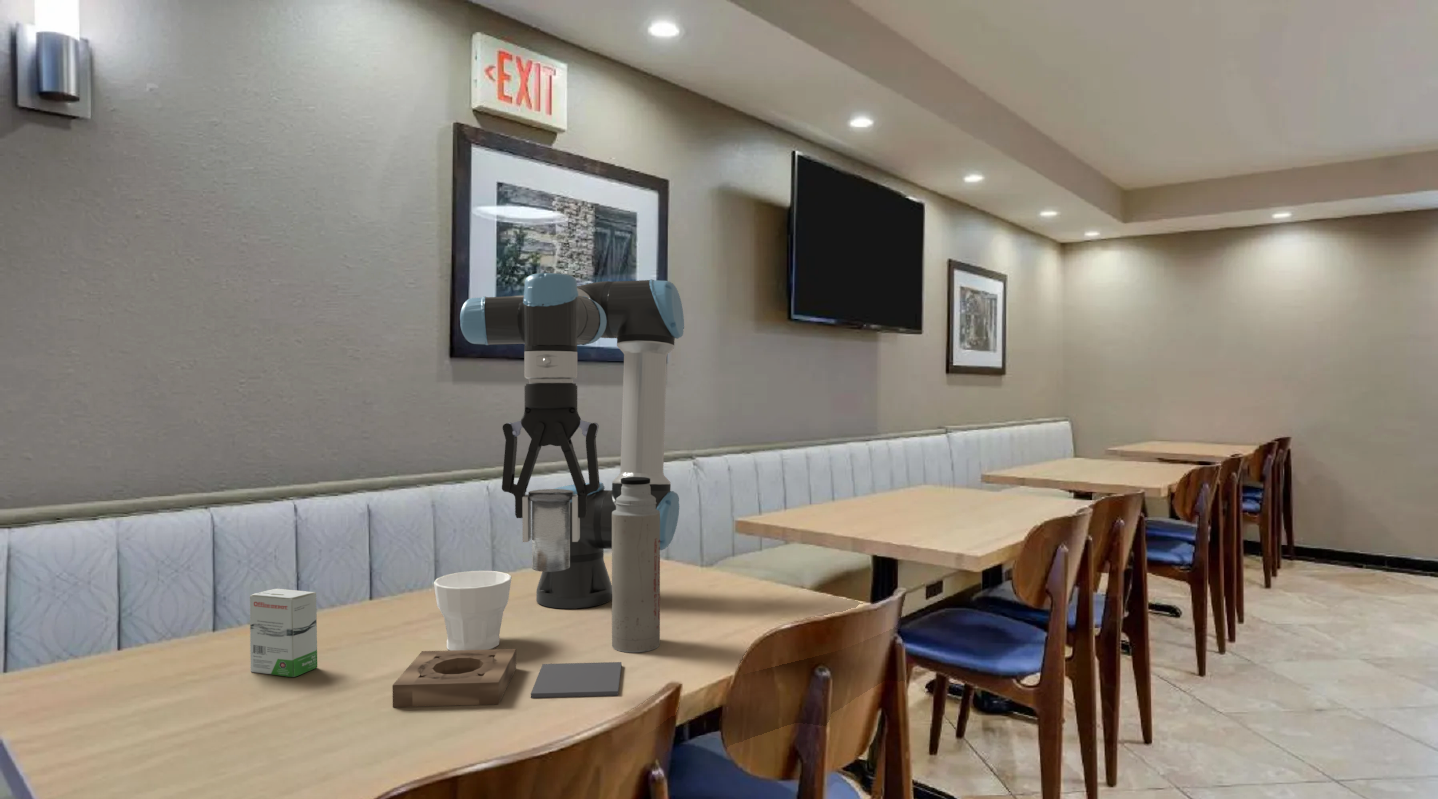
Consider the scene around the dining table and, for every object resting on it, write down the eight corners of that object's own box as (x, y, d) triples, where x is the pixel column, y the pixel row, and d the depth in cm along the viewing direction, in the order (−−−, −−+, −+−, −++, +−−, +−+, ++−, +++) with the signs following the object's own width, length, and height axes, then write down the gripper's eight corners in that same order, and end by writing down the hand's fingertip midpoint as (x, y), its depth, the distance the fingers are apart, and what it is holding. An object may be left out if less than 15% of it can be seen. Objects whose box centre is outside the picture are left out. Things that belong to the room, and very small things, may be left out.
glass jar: (532, 562, 122) (532, 489, 122) (576, 562, 122) (576, 489, 122) (524, 572, 115) (524, 495, 115) (570, 572, 116) (570, 495, 115)
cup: (527, 639, 139) (527, 574, 139) (476, 661, 128) (476, 591, 128) (470, 630, 144) (470, 567, 144) (417, 650, 133) (416, 583, 133)
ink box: (319, 668, 125) (318, 590, 125) (293, 678, 120) (292, 598, 120) (275, 661, 128) (275, 585, 128) (248, 672, 123) (247, 593, 123)
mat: (542, 667, 125) (542, 663, 125) (621, 665, 126) (621, 662, 126) (530, 697, 113) (530, 693, 113) (617, 695, 114) (617, 691, 114)
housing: (422, 670, 124) (422, 651, 124) (516, 668, 125) (516, 648, 125) (392, 707, 110) (392, 685, 110) (498, 704, 111) (498, 682, 111)
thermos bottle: (665, 639, 139) (665, 475, 139) (652, 654, 132) (652, 480, 131) (620, 636, 141) (620, 474, 140) (605, 651, 133) (605, 479, 133)
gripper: (476, 381, 114) (477, 545, 115) (616, 381, 115) (616, 544, 115) (489, 381, 122) (490, 535, 122) (620, 381, 122) (620, 534, 123)
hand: (551, 539), depth 119 cm, fingers closed on glass jar, 6 cm apart
